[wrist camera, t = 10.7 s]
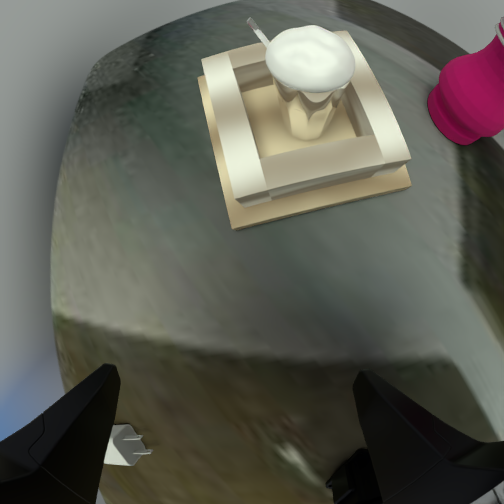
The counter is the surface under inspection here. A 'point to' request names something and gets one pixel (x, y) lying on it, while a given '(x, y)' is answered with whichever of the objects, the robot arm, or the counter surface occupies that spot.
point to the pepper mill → (471, 94)
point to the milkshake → (307, 76)
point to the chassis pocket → (297, 142)
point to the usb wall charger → (124, 446)
